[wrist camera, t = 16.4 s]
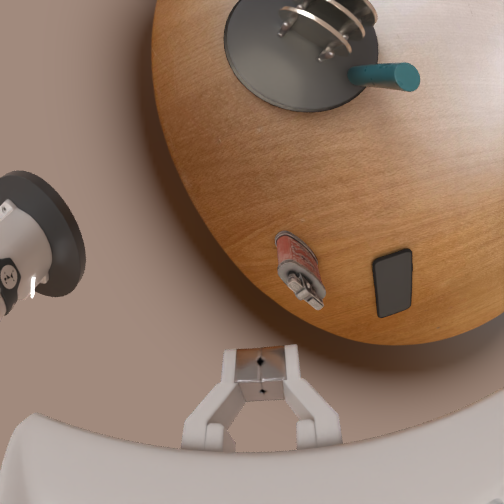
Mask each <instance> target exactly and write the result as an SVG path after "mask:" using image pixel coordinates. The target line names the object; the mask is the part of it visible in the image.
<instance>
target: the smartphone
mask: <svg viewBox="0 0 504 504" xmlns="http://www.w3.org/2000/svg"><path fill="white" fill-rule="evenodd" d="M372 266H373V277H374V285H375V293H376V304H377V315H378V317H379V318H383V317H386V316H389V315H392V314H395V313H398V312H401V311H403V310H406V309H408V308H409V307H410V306H411V296H412V271H413V264H412V251H411V250H410V249H404V250H401V251H398V252H395V253H392V254H389V255H386V256H383V257H380V258H377V259H376V260H374V261H373V264H372Z"/></svg>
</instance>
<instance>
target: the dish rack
mask: <svg viewBox="0 0 504 504" xmlns="http://www.w3.org/2000/svg"><path fill="white" fill-rule="evenodd" d="M377 19H378V16H377V13H376V10H375V9H374V7H373V5H372V4H371V3H370V2H369V1H368V0H242V1H241V2H240V3H239V4H238V6H237V7H236V9H235V10H234V12H233V14H232V16H231V19H230V22H229V25H228V32H227V44H228V49H229V53H230V56H231V59H232V62H233V64H234V65H235V67H236V69H237V71H238V72H239V74H240V75H241V76H242V78H243V79H244V80H245V81H246V82H247V83H248V84H249V85H250V86H251V87H252V88H253V89H255V90H256V91H257V92H259V93H260V94H262V95H263V96H265V97H267V98H269V99H270V100H272V101H275V102H277V103H280V104H282V105H286V106H290V107H294V108H300V109H322V108H327V107H332V106H335V105H338V104H341V103H343V102H345V101H347V100H349V99H350V98H352V97H354V96H355V95H356V94H357V93H359V92H360V91H361V90H362V89H363V88H364V87H365V86H368V87H378V88H386V89H394V90H401V91H407V92H411V91H414V90H416V89H417V88H418V86H419V84H420V75H419V73H418V71H417V69H416V68H415V67H414V66H413V65H411V64H409V63H405V62H404V63H385V64H377V59H378V42H377V36H376V33H375V30H374V27H373V25H374V24H375V23H376V22H377Z"/></svg>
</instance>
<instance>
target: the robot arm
mask: <svg viewBox="0 0 504 504" xmlns="http://www.w3.org/2000/svg"><path fill="white" fill-rule="evenodd" d="M51 264H52V252H51V248H50V244H49V242H48V239H47V237H46V235H45V233H44V232H43V230H42V229H41V227H40V226H39V224H38V223H37V222H36V221H35V220H34V219H33V218H32V217H31V216H30V215H29V214H27V213H26V212H24V211H22V210H20V209H19V208H17V207H16V205H15V204H14V203H13V202H12V201H11V200H9V199H7V200H6V201H5V202H4V203H3V204H2V205H1V206H0V321H1V319H2V318H3V316H5V315H7V314H8V313H9V312H10V311H11V310H12V309H13V307H14V305H15V303H16V302H17V300H25V299H26V298H27V297H28V296H29V294H30V293H31V298H33V296H34V289H35V287H36V286H37V285H38V284H39V283H43V284H45V283H46V282H47V281H48V280H49V274H48V271H49V269H50V267H51ZM264 400H285V401H286V402H287V404H288V405H289V406H290V408H291V409H292V410H293V412H294V413H295V414H296V416H297V417H298V418H299V419H300V420H299V421H298V422H297V424H296V426H297V427H296V443H297V450H290V451H276V452H235V444H236V443H235V441H234V440H233V438H232V437H231V436H230V434H229V433H228V431H227V430H228V428H229V427H230V425H231V424H232V422H233V421H234V419H235V418H236V416H237V415H238V413H239V412H240V410H241V409H242V407H243V406H244V404H245V402H250V401H264ZM0 504H504V387H503V388H501V389H500V390H497V391H496V392H494V393H492V394H490V395H488V396H486V397H484V398H482V399H480V400H478V401H476V402H474V403H472V404H470V405H467V406H465V407H463V408H461V409H458V410H456V411H454V412H451V413H449V414H446V415H444V416H441V417H439V418H436V419H433V420H431V421H428V422H425V423H422V424H419V425H416V426H413V427H410V428H406V429H404V430H400V431H396V432H393V433H389V434H386V435H381V436H377V437H373V438H369V439H364V440H360V441H355V442H350V443H344V444H343V443H342V436H341V429H340V422H339V415H338V414H337V413H336V411H335V410H334V409H333V408H331V406H330V405H329V404H328V403H327V402H326V401H325V400H324V399H323V398H322V397H321V396H320V394H319V393H318V392H317V391H316V390H315V389H314V388H313V387H312V386H311V385H310V384H309V382H308V381H307V380H306V379H305V378H301V375H300V365H299V356H298V348H297V345H287V346H285V348H284V345H283V346H274V347H264V348H252V349H226V350H225V351H224V355H223V365H222V374H221V383H217V384H216V385H215V387H214V388H213V389H212V390H211V391H210V392H209V394H208V395H207V396H206V397H205V398H204V399H203V401H202V402H201V403H200V404H199V405H198V406H197V408H196V409H195V410H194V411H193V412H192V413H191V414H190V416H189V417H188V418H187V419H186V420H185V424H184V429H183V436H182V443H181V449H177V448H169V447H162V446H155V445H150V444H144V443H139V442H133V441H129V440H124V439H119V438H115V437H111V436H107V435H103V434H100V433H96V432H92V431H89V430H85V429H82V428H79V427H76V426H73V425H70V424H67V423H64V422H61V421H58V420H56V419H53V418H50V417H48V416H45V415H43V414H40V413H34V414H32V415H30V416H29V417H28V418H26V419H25V420H24V421H23V422H21V423H20V424H19V425H18V426H17V427H16V429H15V430H14V432H13V434H12V436H11V439H10V441H9V444H8V447H7V450H6V453H5V457H4V460H3V463H2V467H1V471H0Z"/></svg>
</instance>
